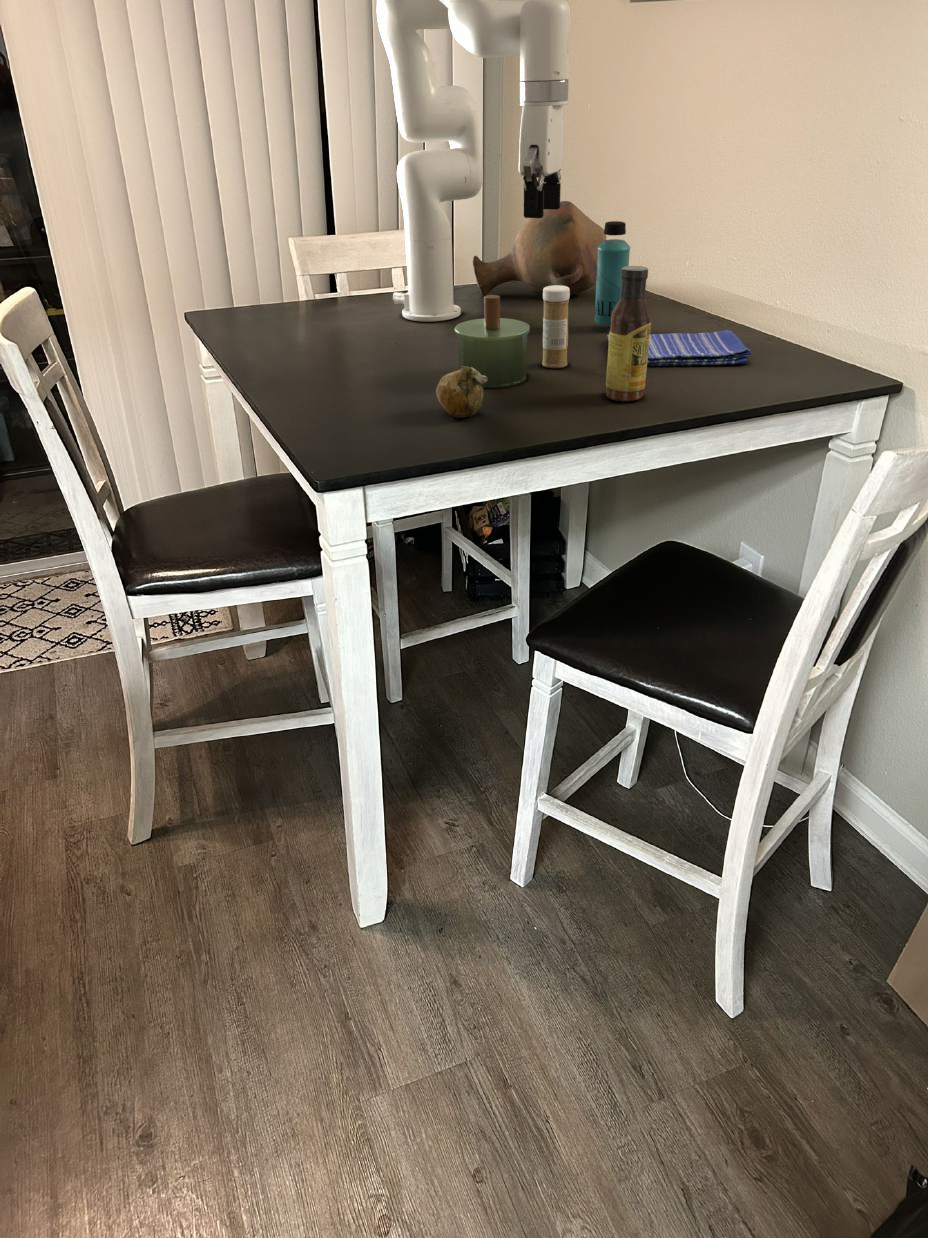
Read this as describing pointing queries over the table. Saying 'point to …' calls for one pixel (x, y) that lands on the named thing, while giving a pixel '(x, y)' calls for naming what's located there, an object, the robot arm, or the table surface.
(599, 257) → the beverage bottle
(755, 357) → the table surface
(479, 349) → the tin
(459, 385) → the onion
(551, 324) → the sprinkles bottle
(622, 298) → the sauce bottle
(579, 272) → the jug
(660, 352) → the dish towel
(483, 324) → the tin lid
